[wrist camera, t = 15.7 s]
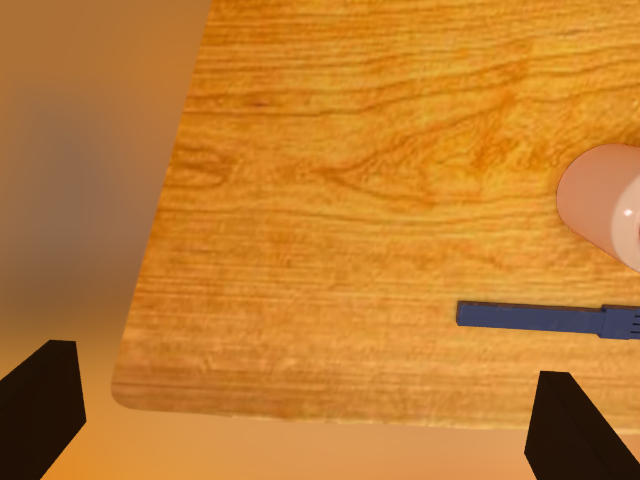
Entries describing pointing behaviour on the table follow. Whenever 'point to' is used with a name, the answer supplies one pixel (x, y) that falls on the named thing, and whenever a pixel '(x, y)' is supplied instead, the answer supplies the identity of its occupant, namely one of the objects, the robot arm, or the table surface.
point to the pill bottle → (604, 200)
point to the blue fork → (553, 318)
